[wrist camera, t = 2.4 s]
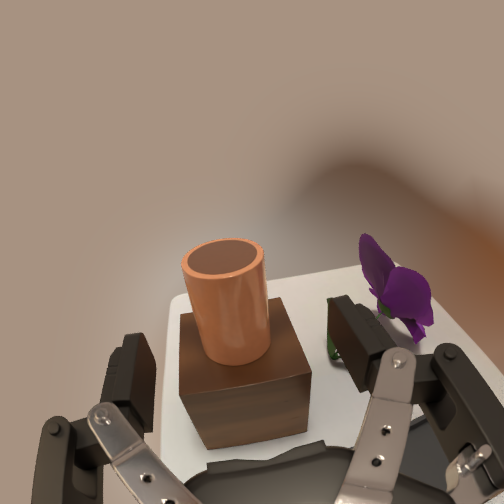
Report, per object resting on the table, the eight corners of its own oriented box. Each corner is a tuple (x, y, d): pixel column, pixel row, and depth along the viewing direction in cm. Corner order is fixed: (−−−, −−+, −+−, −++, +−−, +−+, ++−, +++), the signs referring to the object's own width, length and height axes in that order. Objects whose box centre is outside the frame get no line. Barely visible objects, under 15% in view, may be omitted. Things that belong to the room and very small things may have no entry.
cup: (244, 377, 23) (227, 287, 19) (189, 348, 27) (164, 264, 23) (284, 331, 28) (279, 245, 24) (231, 311, 31) (217, 232, 27)
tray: (371, 562, 13) (376, 561, 12) (328, 461, 24) (330, 454, 23) (499, 480, 15) (509, 473, 14) (448, 405, 26) (454, 396, 25)
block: (307, 431, 28) (312, 371, 23) (207, 449, 27) (178, 395, 22) (283, 362, 38) (280, 296, 33) (201, 377, 37) (180, 314, 31)
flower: (373, 409, 34) (443, 341, 34) (342, 371, 26) (439, 277, 26) (320, 346, 46) (381, 291, 46) (277, 293, 38) (354, 226, 38)
